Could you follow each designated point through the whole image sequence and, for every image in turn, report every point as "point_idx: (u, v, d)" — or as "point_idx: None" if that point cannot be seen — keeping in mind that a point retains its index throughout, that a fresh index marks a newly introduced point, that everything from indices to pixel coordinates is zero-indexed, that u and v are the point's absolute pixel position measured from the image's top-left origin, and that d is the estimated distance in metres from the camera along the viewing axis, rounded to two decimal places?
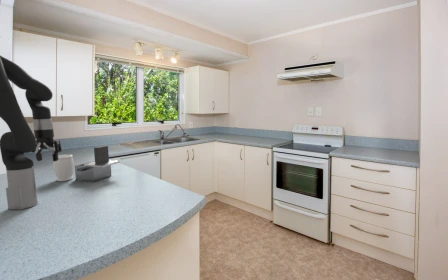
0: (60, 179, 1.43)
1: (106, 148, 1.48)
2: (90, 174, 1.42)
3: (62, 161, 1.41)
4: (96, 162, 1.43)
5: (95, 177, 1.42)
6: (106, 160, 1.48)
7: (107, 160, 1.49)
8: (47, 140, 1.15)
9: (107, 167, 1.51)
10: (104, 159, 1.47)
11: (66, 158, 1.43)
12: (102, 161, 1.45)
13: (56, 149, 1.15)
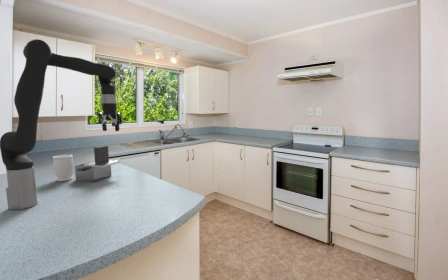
0: (60, 179, 1.43)
1: (106, 148, 1.48)
2: (90, 174, 1.42)
3: (62, 161, 1.41)
4: (96, 162, 1.43)
5: (95, 177, 1.42)
6: (106, 160, 1.48)
7: (107, 160, 1.49)
8: None
9: (107, 167, 1.51)
10: (104, 159, 1.47)
11: (66, 158, 1.43)
12: (102, 161, 1.45)
13: None
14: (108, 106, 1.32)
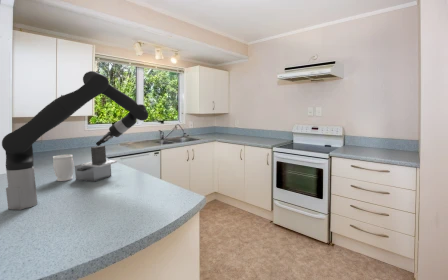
0: (60, 179, 1.43)
1: (103, 148, 1.49)
2: (90, 174, 1.42)
3: (62, 161, 1.41)
4: (93, 162, 1.44)
5: (95, 177, 1.42)
6: (103, 160, 1.49)
7: (104, 160, 1.50)
8: None
9: (107, 167, 1.51)
10: (101, 159, 1.47)
11: (66, 158, 1.43)
12: (99, 161, 1.46)
13: None
14: (112, 127, 1.41)
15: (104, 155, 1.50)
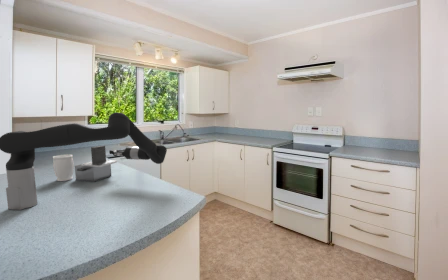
0: (60, 179, 1.43)
1: (103, 148, 1.49)
2: (90, 174, 1.42)
3: (62, 161, 1.41)
4: (93, 162, 1.44)
5: (95, 177, 1.42)
6: (103, 160, 1.49)
7: (104, 160, 1.50)
8: None
9: (107, 167, 1.51)
10: (101, 159, 1.47)
11: (66, 158, 1.43)
12: (99, 161, 1.46)
13: None
14: (128, 148, 1.38)
15: (104, 155, 1.50)
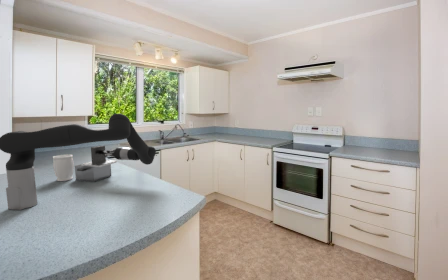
0: (60, 179, 1.43)
1: (103, 148, 1.49)
2: (90, 174, 1.42)
3: (62, 161, 1.41)
4: (93, 162, 1.44)
5: (95, 177, 1.42)
6: (103, 160, 1.49)
7: (104, 160, 1.50)
8: None
9: (107, 167, 1.51)
10: (101, 159, 1.48)
11: (66, 158, 1.43)
12: (99, 161, 1.46)
13: None
14: (118, 149, 1.40)
15: None
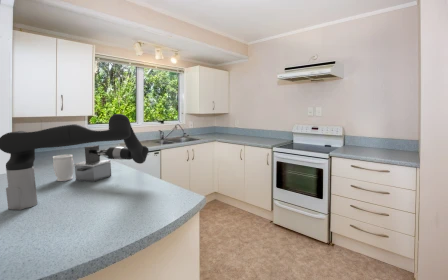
0: (60, 179, 1.43)
1: (97, 148, 1.50)
2: (90, 174, 1.42)
3: (62, 161, 1.41)
4: (87, 161, 1.45)
5: (95, 177, 1.42)
6: (97, 159, 1.50)
7: (98, 159, 1.51)
8: None
9: (107, 167, 1.51)
10: (95, 159, 1.49)
11: (66, 158, 1.43)
12: (93, 160, 1.47)
13: None
14: (111, 148, 1.41)
15: None
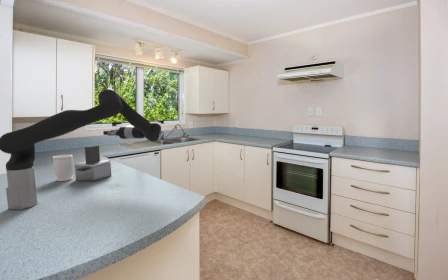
0: (60, 179, 1.43)
1: (97, 148, 1.50)
2: (90, 174, 1.42)
3: (62, 161, 1.41)
4: (87, 161, 1.45)
5: (95, 177, 1.42)
6: (97, 159, 1.50)
7: (98, 159, 1.51)
8: None
9: (107, 167, 1.51)
10: (95, 159, 1.49)
11: (66, 158, 1.43)
12: (93, 160, 1.47)
13: None
14: (123, 127, 1.36)
15: (98, 155, 1.51)
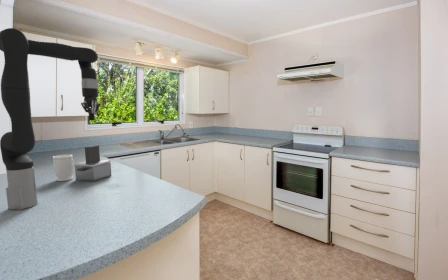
0: (60, 179, 1.43)
1: (97, 148, 1.50)
2: (90, 174, 1.42)
3: (62, 161, 1.41)
4: (87, 161, 1.45)
5: (95, 177, 1.42)
6: (97, 159, 1.50)
7: (98, 159, 1.51)
8: (95, 98, 1.31)
9: (107, 167, 1.51)
10: (95, 159, 1.49)
11: (66, 158, 1.43)
12: (93, 160, 1.47)
13: (97, 109, 1.32)
14: (82, 91, 1.26)
15: (98, 155, 1.51)
